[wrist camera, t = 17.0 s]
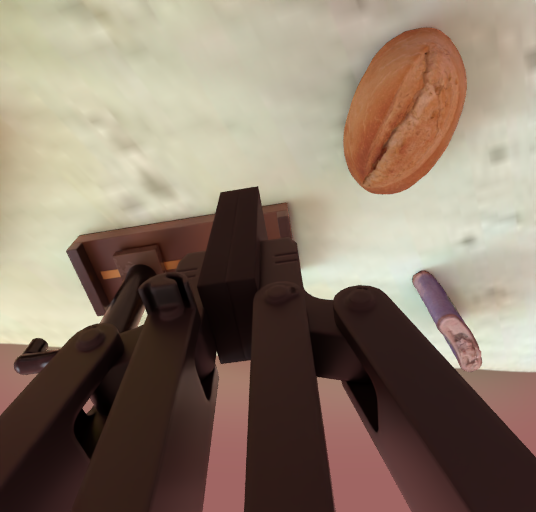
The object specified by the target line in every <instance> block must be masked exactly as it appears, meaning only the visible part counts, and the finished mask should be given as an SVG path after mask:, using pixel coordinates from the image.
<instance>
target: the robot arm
mask: <svg viewBox="0 0 536 512" xmlns="http://www.w3.org/2000/svg"><path fill="white" fill-rule="evenodd" d="M138 291H139V294H140V296H141V299H142V301H143V304H144V306H145V309H146V311H147V314H148V315H147V318H146V321H145V323H144V325H141V326H139V327H137V328H134V329H131V330H128V331H125V332H123V333H120V334H119V332H118V330H117V328H116V327H115V326H114V325H113V324H109V323H99V324H94V325H92V326H88V327H86V328H84V329H83V330H81V331H79V332H77V333H76V334H75V335H74V336H73V337H72V338H70V339H69V340H68V342H67V343H66V344H65V345H64V346H63V347H62V348H61V349H60V350H59V351H58V353H57V354H56V355H55V356H54V357H53V358H52V359H51V360H50V361H49V362H48V364H47V365H46V366H45V367H44V368H43V369H42V370H41V371H40V372H39V373H38V375H37V376H36V377H35V378H34V379H33V380H32V381H31V382H30V383H29V385H28V386H27V387H26V388H25V389H24V390H23V391H22V392H21V393H20V394H19V396H18V397H17V398H16V399H15V400H14V401H13V402H12V403H11V404H10V405H9V407H8V408H7V409H6V410H5V411H4V412H3V413H2V414H1V416H0V512H202V510H203V502H204V493H205V485H206V477H207V468H208V461H209V453H210V445H211V437H212V429H213V421H214V413H215V405H216V397H217V389H218V380H219V376H218V371H217V367H216V365H215V359H216V352H217V353H218V357H219V360H220V363H221V364H224V363H231V362H238V361H247V360H251V367H250V389H249V390H250V391H249V412H248V435H247V458H246V482H245V505H244V512H336V510H335V503H334V496H333V489H332V482H331V475H330V468H329V461H328V454H327V448H326V441H325V434H324V426H323V419H322V413H321V405H320V398H319V392H318V383H317V377H322V378H329V379H336V380H341V381H342V384H343V387H344V389H345V391H346V392H347V394H348V396H349V398H350V400H351V402H352V403H353V405H354V407H355V409H356V411H357V413H358V414H359V416H360V418H361V420H362V422H363V423H364V425H365V427H366V429H367V431H368V433H369V435H370V436H371V438H372V440H373V442H374V444H375V446H376V447H377V449H378V451H379V453H380V455H381V456H382V458H383V460H384V462H385V464H386V465H387V467H388V469H389V471H390V473H391V475H392V477H393V478H394V480H395V482H396V484H397V485H398V488H399V489H400V491H401V493H402V495H403V497H404V499H405V500H406V502H407V504H408V506H409V508H410V509H411V511H412V512H536V457H535V456H534V455H533V454H532V453H531V452H530V450H529V449H528V448H527V447H526V446H525V445H524V444H523V443H522V442H521V441H520V440H519V439H518V437H517V436H516V435H515V434H514V433H513V432H512V431H511V430H510V429H509V428H508V426H507V425H506V424H505V423H504V422H503V421H502V420H501V419H500V418H499V417H498V416H497V414H496V413H495V412H494V411H493V410H492V409H491V408H490V407H489V406H488V405H487V404H486V403H485V401H484V400H483V399H482V398H481V397H480V396H479V395H478V394H477V393H476V392H475V391H474V390H473V388H472V387H471V386H470V385H469V384H468V383H467V382H466V381H465V380H464V379H463V378H462V377H461V375H460V374H459V373H458V372H457V371H456V370H455V369H454V368H453V367H452V365H451V364H450V363H449V362H448V361H447V360H446V359H445V358H444V357H443V356H442V355H441V353H440V352H439V351H438V350H437V349H436V348H435V347H434V346H433V345H432V344H431V343H430V342H429V340H428V339H427V338H426V337H425V336H424V335H423V334H422V333H421V332H420V331H419V330H418V328H417V327H416V326H415V325H414V324H413V323H412V322H411V321H410V320H409V319H408V318H407V316H406V315H405V314H404V313H403V312H402V311H401V310H400V309H399V308H398V307H397V306H396V304H395V303H394V302H393V301H392V300H391V299H390V298H389V297H388V296H387V295H386V294H385V293H384V292H383V291H381V290H380V289H378V288H374V287H371V286H362V285H358V286H352V287H348V288H346V289H343V290H341V291H340V292H339V293H338V294H336V295H335V297H334V300H325V299H319V298H316V297H313V296H311V295H310V294H308V293H307V292H306V291H305V290H304V287H303V282H302V276H301V269H300V262H299V256H298V249H297V243H296V242H295V241H293V240H292V239H291V238H290V237H285V238H279V239H272V240H268V236H267V231H266V226H265V220H264V215H263V210H262V205H261V199H260V194H259V189H258V186H257V187H251V188H245V189H239V190H233V191H227V192H221V193H220V197H219V201H218V205H217V209H216V213H215V217H214V221H213V225H212V229H211V233H210V237H209V241H208V245H207V248H206V251H201V252H194V253H188V254H186V255H185V256H184V257H183V258H182V259H181V260H180V261H179V263H178V266H177V268H176V272H166V273H162V274H158V275H156V276H154V277H151V278H149V279H148V280H146V281H145V282H144V283H142V285H141V286H140V287H139V288H138ZM89 398H90V399H91V401H92V402H93V404H94V406H93V407H92V409H91V410H90V411H89V412H88V413H87V414H86V413H85V412H84V410H83V409H82V408H83V406H84V405H85V404H86V402H87V401H88V399H89Z"/></svg>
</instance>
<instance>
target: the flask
mask: <svg viewBox="0 0 536 512" xmlns="http://www.w3.org/2000/svg"><path fill="white" fill-rule="evenodd" d="M413 284H414V287H415V288H416V289H417V291H418V293H419V295H420V296H421V298H422V300H423V302H424V303H425V305H426V307H427V309H428V311H429V313H430V314H431V316H432V318H433V320H434V322H435V324H436V326H437V328H438V330H439V331H440V332H441V333H442V334H443V335H444V337H445V339H446V341H447V343H448V344H449V346H450V348H451V349H452V352H453V353H454V355H455V357H456V358H457V360H458V363H459V365H460V367H461V369H462V370H464V371H468V372H473V371H474V370H477V369H478V368H480V367H481V364H482V358H481V351H480V350H479V346H478V344H477V342H476V340H475V338H474V336H473V334H472V332H471V331H470V329H469V328H468V326H467V325H466V324H465V322H464V321H463V319H462V317H461V316H460V315H459V313H458V311H457V309H456V308H455V307H454V305H453V303H452V302H451V300H450V298H449V297H448V296H447V294H446V292H445V291H444V289H443V288H442V286H441V285H440V284H439V283H438V282H437V280H436V279H435V278H434V276H433V275H431V274H430V273H429V272H426V271H421V273H420V272H418V273H417V274H416V275H414V276H413Z"/></svg>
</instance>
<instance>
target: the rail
mask: <svg viewBox="0 0 536 512" xmlns="http://www.w3.org/2000/svg"><path fill="white" fill-rule="evenodd" d="M262 210H263V215H264V220H265V226H266V231H267V236H268V240H272V239H279V238H285V237H290V238H291V239H292V240H293V238H292V232H291V226H290V219H289V213H288V206H287V203H281V204H275V205H269V206H263V207H262ZM214 217H215V214H212V215H206V216H200V217H193V218H187V219H181V220H175V221H168V222H162V223H156V224H149V225H143V226H137V227H131V228H124V229H118V230H112V231H105V232H99V233H93V234H87V235H80V236H78V238H77V239H76V240H75V241H74V242H73V243H72V245H71V246H70V247H69V248H68V249H67V250H66V252H67V254H68V256H69V258H70V260H71V262H72V264H73V266H74V269H75V271H76V273H77V275H78V277H79V279H80V281H81V283H82V285H83V287H84V289H85V291H86V293H87V296H88V298H89V300H90V302H91V304H92V306H93V308H94V310H95V312H96V314H97V316H103V315H105V313H106V311H107V309H108V307H109V306H110V304H111V302H112V300H113V298H114V296H115V294H116V293H117V291H118V289H119V287H120V285H121V283H122V282H123V281H122V278H121V276H120V274H119V271H118V269H117V266H116V264H115V262H114V259H113V257H112V256H113V255H114V253H115V252H116V251H120V250H127V249H133V248H140V247H146V246H153V245H158V247H159V250H160V253H161V256H162V259H163V262H164V265H165V268H166V271H167V272H176V268H177V266H178V263H179V261H180V260H181V259H182V258H183V257H184V256H185V255H186V254H188V253H194V252H201V251H206V248H207V245H208V241H209V237H210V233H211V229H212V225H213V221H214Z"/></svg>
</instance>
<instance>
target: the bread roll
mask: <svg viewBox="0 0 536 512" xmlns="http://www.w3.org/2000/svg"><path fill="white" fill-rule="evenodd" d="M466 90H467V81H466V72H465V67H464V64H463V61H462V58H461V56H460V54H459V52H458V50H457V48H456V46H455V45H454V44H453V42H452V41H451V39H450V38H449V37H448V36H447V35H445V34H444V33H443V32H441V31H440V30H437V29H435V28H419V29H414V30H409V31H405V32H403V33H402V34H400V35H398V36H396V37H395V38H393V39H392V40H390V41H389V42H387V43H386V44H385V45H384V46H383V47H382V48H381V50H380V51H379V52H378V53H377V54H376V55H375V57H374V58H373V59H372V61H371V63H370V65H369V67H368V69H367V71H366V72H365V74H364V76H363V77H362V79H361V81H360V83H359V85H358V87H357V90H356V92H355V95H354V97H353V100H352V103H351V106H350V110H349V113H348V116H347V120H346V124H345V129H344V154H345V158H346V162H347V165H348V169H349V171H350V173H351V175H352V176H353V177H354V179H355V180H356V181H357V182H358V184H359V185H360V186H362V187H363V188H364V189H365V190H367V191H369V192H371V193H374V194H394V193H398V192H401V191H403V190H406V189H408V188H409V187H411V186H412V185H414V184H415V183H416V182H417V181H418V180H420V179H421V178H422V177H423V176H425V175H426V174H427V173H428V172H429V171H430V170H431V169H432V167H433V166H434V165H435V164H436V162H437V161H438V159H439V158H440V157H441V155H442V154H443V152H444V151H445V149H446V148H447V146H448V144H449V142H450V140H451V138H452V135H453V133H454V131H455V129H456V126H457V124H458V121H459V118H460V115H461V112H462V109H463V106H464V102H465V97H466Z"/></svg>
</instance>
